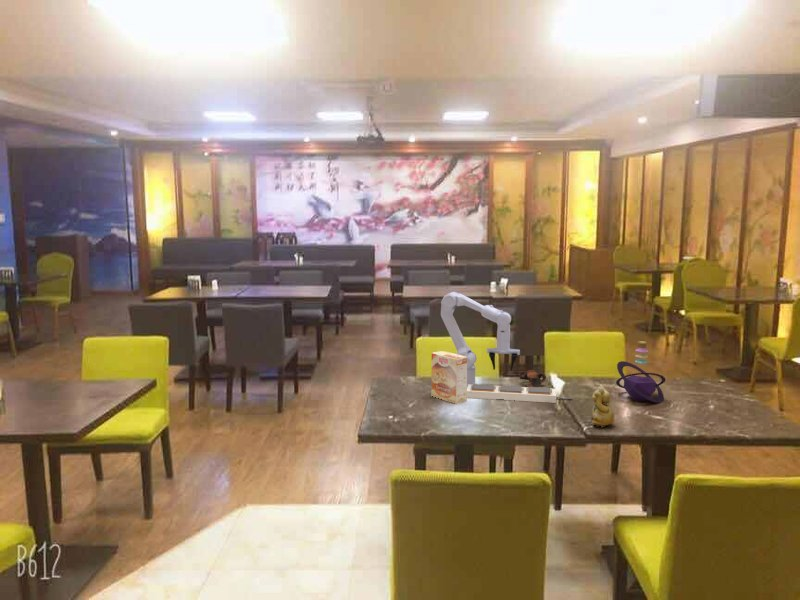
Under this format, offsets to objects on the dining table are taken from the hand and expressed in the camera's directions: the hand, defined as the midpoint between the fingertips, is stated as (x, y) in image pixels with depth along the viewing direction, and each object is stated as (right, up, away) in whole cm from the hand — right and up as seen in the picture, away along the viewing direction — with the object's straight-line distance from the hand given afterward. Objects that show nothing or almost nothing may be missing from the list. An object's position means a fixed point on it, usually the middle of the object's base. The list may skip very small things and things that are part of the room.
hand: (502, 369), depth 286 cm
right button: (+14, -9, -12) cm, 20 cm away
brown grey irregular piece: (+15, -8, +9) cm, 20 cm away
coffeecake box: (-25, -12, -12) cm, 30 cm away
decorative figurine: (+30, -16, -45) cm, 57 cm away
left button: (-10, -9, -7) cm, 15 cm away
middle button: (+2, -9, -9) cm, 13 cm away
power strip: (+5, -11, -10) cm, 16 cm away
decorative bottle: (+56, -11, -13) cm, 59 cm away
